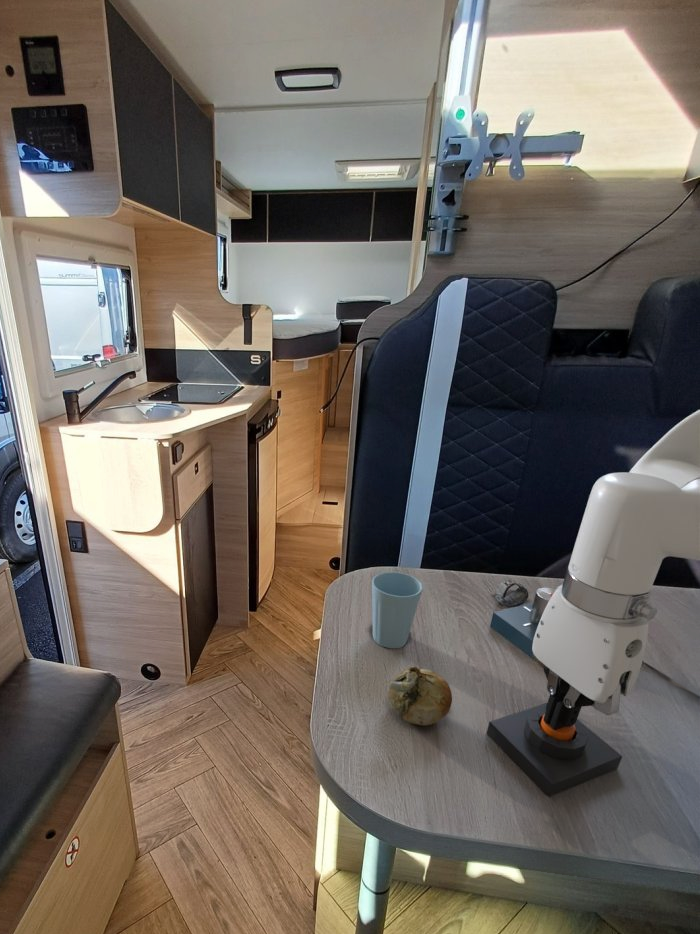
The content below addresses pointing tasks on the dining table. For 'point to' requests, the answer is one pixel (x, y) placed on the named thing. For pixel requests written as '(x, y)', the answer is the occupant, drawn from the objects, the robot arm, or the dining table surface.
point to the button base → (552, 751)
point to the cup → (394, 607)
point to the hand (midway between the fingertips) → (557, 722)
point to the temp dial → (540, 603)
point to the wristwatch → (516, 596)
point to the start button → (558, 731)
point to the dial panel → (516, 626)
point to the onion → (420, 696)
